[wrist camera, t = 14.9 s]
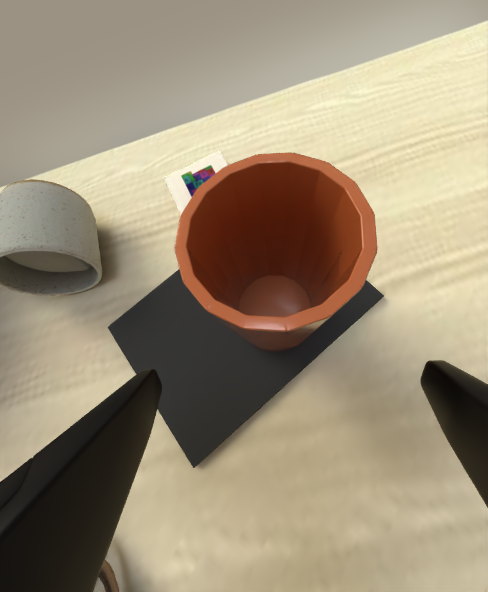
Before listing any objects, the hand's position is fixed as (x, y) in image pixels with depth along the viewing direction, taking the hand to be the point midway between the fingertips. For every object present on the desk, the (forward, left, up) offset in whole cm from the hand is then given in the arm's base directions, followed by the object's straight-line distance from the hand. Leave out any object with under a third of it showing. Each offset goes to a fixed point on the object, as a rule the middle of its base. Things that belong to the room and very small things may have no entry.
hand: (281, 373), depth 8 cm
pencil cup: (+4, -3, -11) cm, 12 cm away
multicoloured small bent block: (+19, -6, -12) cm, 23 cm away
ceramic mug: (+22, +10, -12) cm, 26 cm away
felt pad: (+6, 0, -12) cm, 13 cm away
